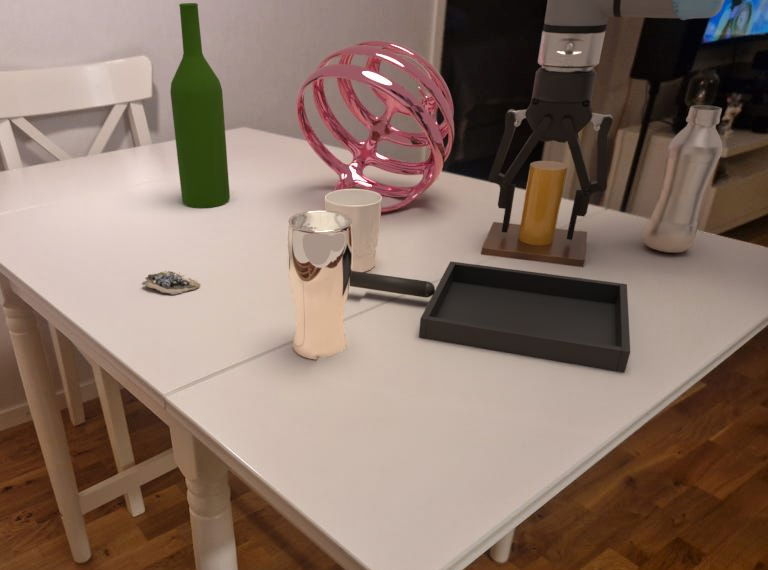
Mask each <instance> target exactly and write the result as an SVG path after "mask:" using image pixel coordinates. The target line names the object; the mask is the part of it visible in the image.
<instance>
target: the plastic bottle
mask: <svg viewBox="0 0 768 570" xmlns="http://www.w3.org/2000/svg"><path fill="white" fill-rule="evenodd" d="M722 111H723V108H722V107H719V106H716V105H715V106H714V105H705V104H702V105H701V104H700V105H698V104H697V105H691V106H690V108H689V111H688V114H687V116H686V119H685V121H686V123H687V124H686V126H684V127H683V128H682V129H681V130H679V132H678V133H677V134H676V135H675V136H674V137H673V138H671V141H670V143H669V144H668V145H667V150H666V156H665V164H664V165H665V166H664V172H663V178H662V181H661V187H660V191H659V195H658V198H657V201H656V203H655V205H654V207H653V211H652V212H651V215H650V217H649V219H648V220H647V223H646V225H645V227H644V232H643V240H644V243H645V246H647V247H648V248H650V249H652V250H654V251H655V250H656V251H658V252H664V253H672V254H673V253H675V254H676V253H682V252H685V251H686V250H688V249H689V248H690V247H691V246H692V244H693V242H694V240H695V239H696V236H697V230H698V219H699V214H700V209H701V206H702V200H703V197H704V195H705V191H706V189H707V187H708V184H709V182H710V179H711V176H712V175H713V172H714V170H715V168H716V166H717V165H718V162H719V160H720V158H721V156H722V154H723V142H722V139H721V136H720V134H719V132H718V130H717V125H719V124H720V121H721V115H722V113H723V112H722Z"/></svg>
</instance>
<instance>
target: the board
mask: <svg viewBox="0 0 768 570" xmlns="http://www.w3.org/2000/svg"><path fill="white" fill-rule="evenodd" d="M502 226H503V222H498V221H493V222H492V224H491V226H490V229H489V231H488V233H487V235H486V238H485V240H484V242H483V244H482V246H481V250H480V251H481V252H480V255H482V256H489V257H499V258H504V259H505V258H506V259H512V260H513V259H515V260H522V261H531V262H539V263H546V264H554V265H555V264H556V265H563V266H570V267H571V266H572V267H579V268H584V266H585V262H586V252H587V240H588V231H583V230H575V229H574V233H573V238H572V240H569V239H567V233H568V229H566V228H565V229H563V228H556V229H555V235H554V240H553V242H552V243H551V244H548V245H530V244H526V243H523V242H521V241H520V240H519V239H518V235H519V229H520V224H517V223H509V228H508V231H507V233H506V232H502Z"/></svg>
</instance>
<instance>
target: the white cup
mask: <svg viewBox="0 0 768 570" xmlns="http://www.w3.org/2000/svg"><path fill="white" fill-rule="evenodd" d="M332 191H333V190H332ZM332 191H330V192H328V193H326V194H325V195H324V210H327V211H335V212H340V213H343V214H346V215H348V216H349V217H350V218H351V219H352V237H353V266H352V271H357V272H364V273H366V272H368V271H371V270H372V269H373V268H374V267H375V266H376V255H377V247H378V243H379V236H380V235H379V234H380V227H381V226H380V225H381V216H382V215H381V214H382V213H381V207H383V206H382V204H383V195H380V194H379V193H376V192H374V191H370V190H365V189H363V188H350V189H342V190H336V191H333V192H332Z"/></svg>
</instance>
